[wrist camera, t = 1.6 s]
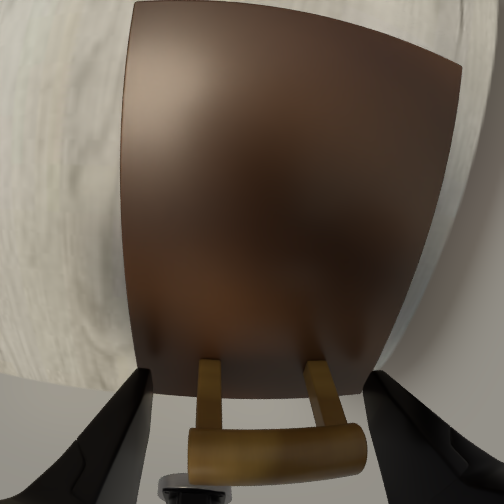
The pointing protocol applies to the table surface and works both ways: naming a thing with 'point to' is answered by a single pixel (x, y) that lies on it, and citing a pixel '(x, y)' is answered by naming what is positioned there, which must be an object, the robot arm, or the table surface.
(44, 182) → the table surface
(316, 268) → the lid
